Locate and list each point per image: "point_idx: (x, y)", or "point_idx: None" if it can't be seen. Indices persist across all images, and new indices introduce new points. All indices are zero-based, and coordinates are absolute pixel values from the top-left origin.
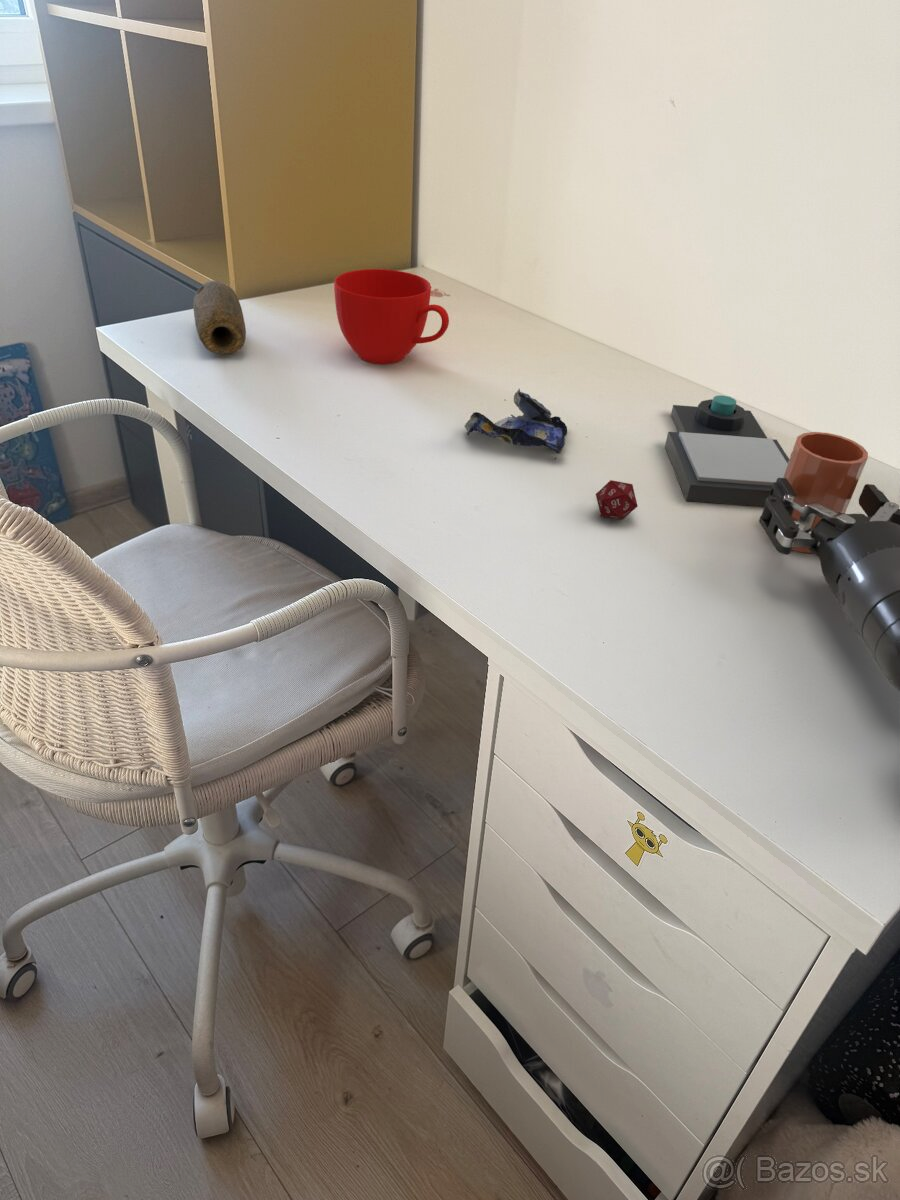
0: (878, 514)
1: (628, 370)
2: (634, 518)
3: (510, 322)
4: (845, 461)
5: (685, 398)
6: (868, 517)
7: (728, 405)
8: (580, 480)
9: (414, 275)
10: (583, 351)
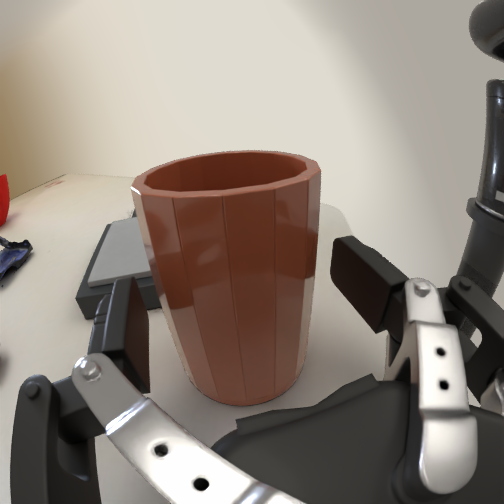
0: (430, 381)
1: None
2: (10, 368)
3: (82, 182)
4: (255, 186)
5: None
6: (392, 393)
7: None
8: (2, 310)
9: (4, 174)
10: (110, 184)
